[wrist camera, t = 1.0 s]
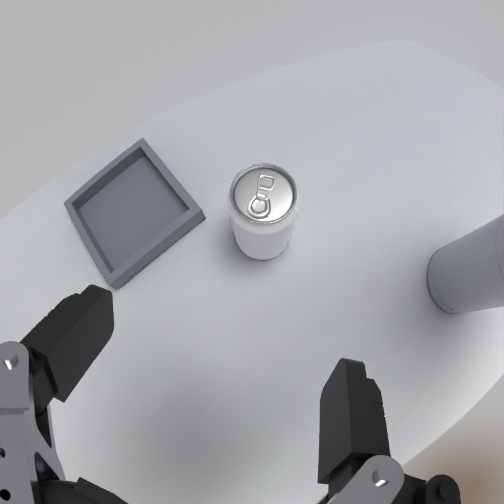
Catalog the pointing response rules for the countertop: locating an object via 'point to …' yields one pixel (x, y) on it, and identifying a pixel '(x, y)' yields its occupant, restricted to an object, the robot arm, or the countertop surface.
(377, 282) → the countertop surface
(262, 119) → the countertop surface
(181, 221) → the tray
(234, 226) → the can
